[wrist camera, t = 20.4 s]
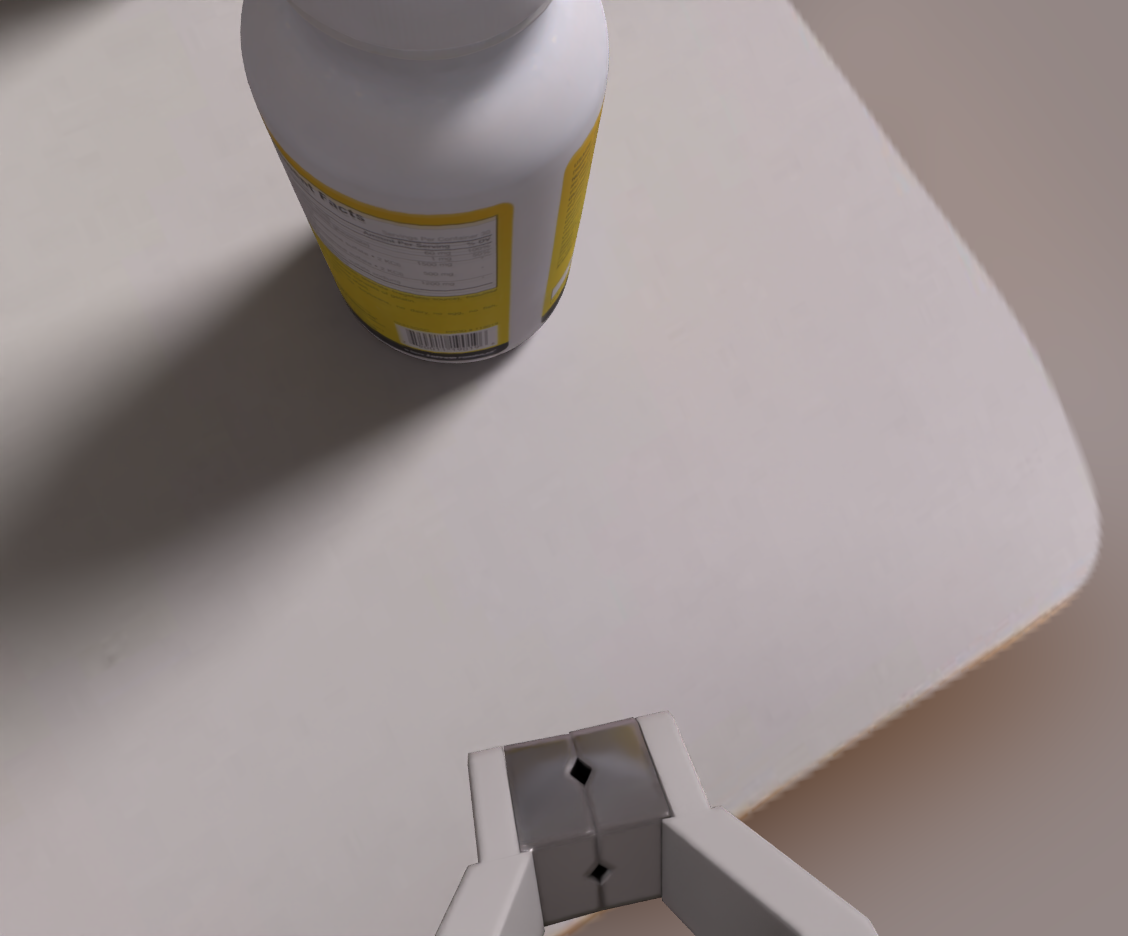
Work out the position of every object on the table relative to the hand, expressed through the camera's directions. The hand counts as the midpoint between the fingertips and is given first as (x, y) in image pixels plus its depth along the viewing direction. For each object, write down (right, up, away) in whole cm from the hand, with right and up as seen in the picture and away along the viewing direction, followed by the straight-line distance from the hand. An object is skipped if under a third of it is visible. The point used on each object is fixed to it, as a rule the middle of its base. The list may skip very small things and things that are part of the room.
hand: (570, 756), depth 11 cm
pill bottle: (-3, +10, +10) cm, 15 cm away
